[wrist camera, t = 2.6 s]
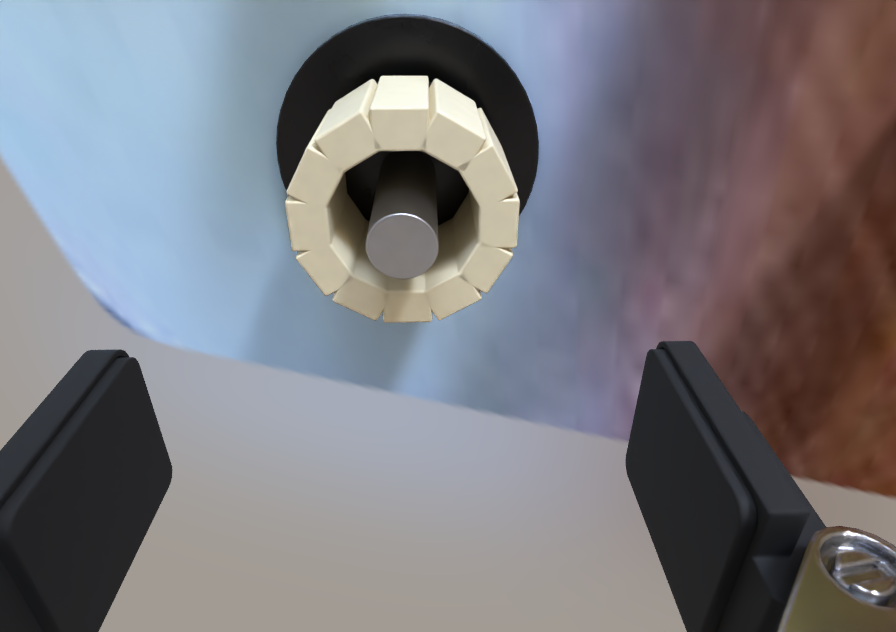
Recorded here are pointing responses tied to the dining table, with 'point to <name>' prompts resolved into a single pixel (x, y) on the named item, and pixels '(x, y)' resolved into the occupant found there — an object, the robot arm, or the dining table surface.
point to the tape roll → (345, 229)
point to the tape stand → (408, 172)
